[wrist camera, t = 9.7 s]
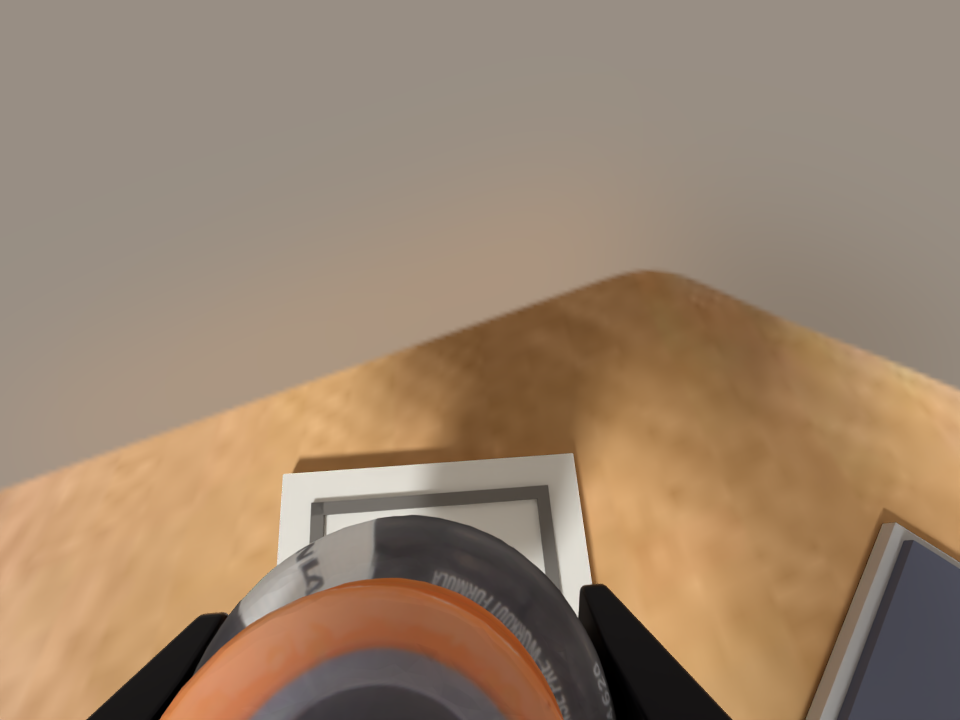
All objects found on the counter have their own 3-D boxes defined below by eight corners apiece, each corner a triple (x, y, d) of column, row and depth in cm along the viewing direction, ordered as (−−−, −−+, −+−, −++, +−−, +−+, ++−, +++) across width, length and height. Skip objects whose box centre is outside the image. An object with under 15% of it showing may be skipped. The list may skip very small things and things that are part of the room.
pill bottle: (317, 575, 15) (-15, 552, 5) (510, 525, 16) (589, 410, 5) (343, 825, 13) (-191, 1862, 2) (569, 755, 13) (905, 1326, 3)
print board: (618, 800, 18) (626, 813, 17) (267, 837, 17) (256, 853, 16) (569, 456, 22) (574, 451, 21) (289, 477, 22) (281, 473, 21)
